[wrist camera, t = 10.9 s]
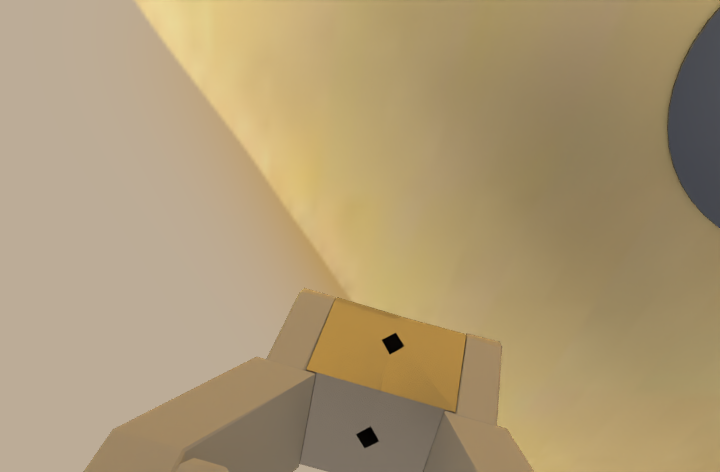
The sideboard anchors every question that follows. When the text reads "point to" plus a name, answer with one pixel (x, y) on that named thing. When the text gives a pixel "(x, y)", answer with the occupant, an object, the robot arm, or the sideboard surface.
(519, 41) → the sideboard surface
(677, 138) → the dark gray round plate
